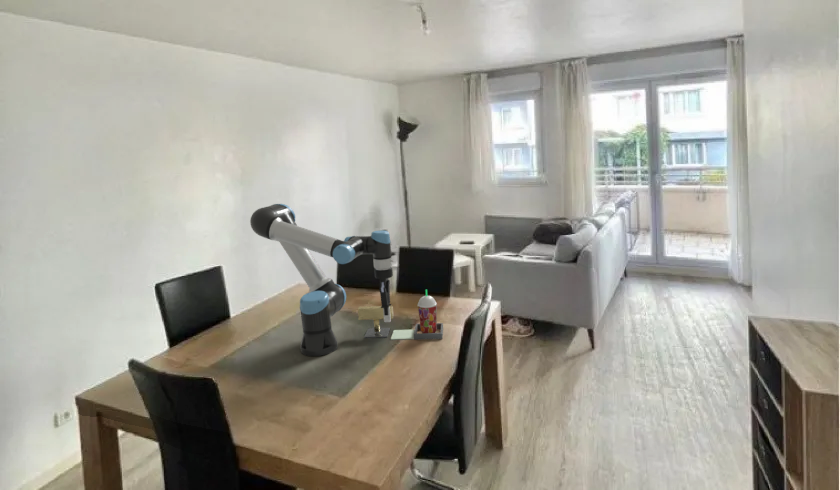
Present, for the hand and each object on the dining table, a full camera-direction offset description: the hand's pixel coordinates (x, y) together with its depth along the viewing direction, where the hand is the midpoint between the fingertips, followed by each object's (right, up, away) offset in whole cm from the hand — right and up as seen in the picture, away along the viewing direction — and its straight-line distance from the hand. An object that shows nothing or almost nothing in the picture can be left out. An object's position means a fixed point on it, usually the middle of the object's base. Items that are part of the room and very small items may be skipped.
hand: (387, 321), depth 211 cm
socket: (+18, -6, +4) cm, 19 cm away
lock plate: (-5, -7, +8) cm, 12 cm away
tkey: (-5, -5, +8) cm, 11 cm away
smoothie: (+18, -6, +4) cm, 19 cm away
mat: (+7, -7, +5) cm, 11 cm away
